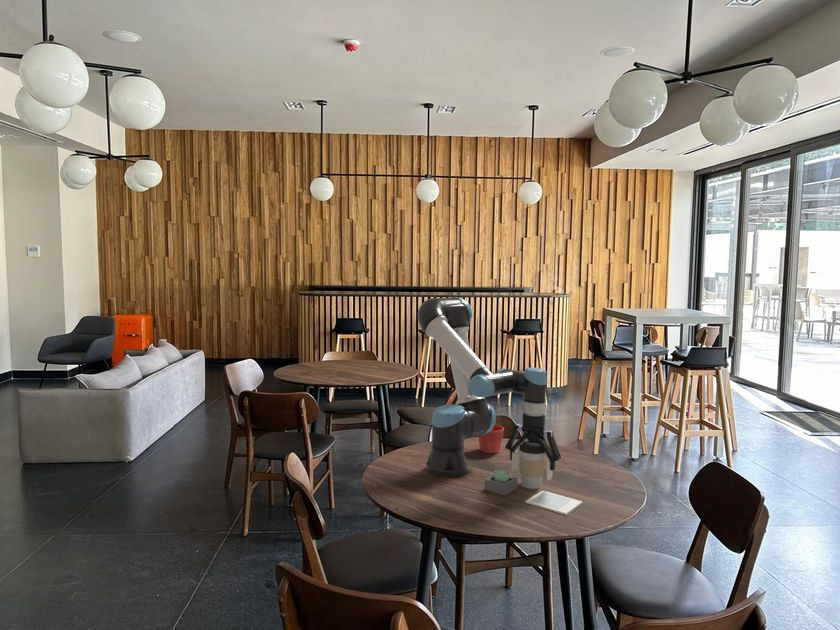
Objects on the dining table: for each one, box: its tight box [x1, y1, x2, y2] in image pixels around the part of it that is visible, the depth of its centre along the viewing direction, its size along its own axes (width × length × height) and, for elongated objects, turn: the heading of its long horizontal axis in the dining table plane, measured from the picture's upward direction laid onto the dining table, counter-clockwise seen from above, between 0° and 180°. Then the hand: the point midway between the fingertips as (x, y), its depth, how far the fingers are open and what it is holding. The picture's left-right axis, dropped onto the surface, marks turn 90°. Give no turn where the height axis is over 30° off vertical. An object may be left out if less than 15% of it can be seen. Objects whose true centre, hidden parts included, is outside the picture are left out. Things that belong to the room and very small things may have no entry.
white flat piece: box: [524, 490, 583, 516], centre depth 192 cm, size 14×12×1 cm
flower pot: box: [477, 424, 505, 454], centre depth 243 cm, size 11×11×10 cm
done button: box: [493, 468, 510, 483], centre depth 202 cm, size 5×5×4 cm
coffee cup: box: [518, 440, 546, 490], centre depth 206 cm, size 9×9×15 cm
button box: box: [484, 474, 519, 496], centre depth 202 cm, size 8×8×4 cm
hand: (531, 474), depth 206 cm, fingers open, 13 cm apart
